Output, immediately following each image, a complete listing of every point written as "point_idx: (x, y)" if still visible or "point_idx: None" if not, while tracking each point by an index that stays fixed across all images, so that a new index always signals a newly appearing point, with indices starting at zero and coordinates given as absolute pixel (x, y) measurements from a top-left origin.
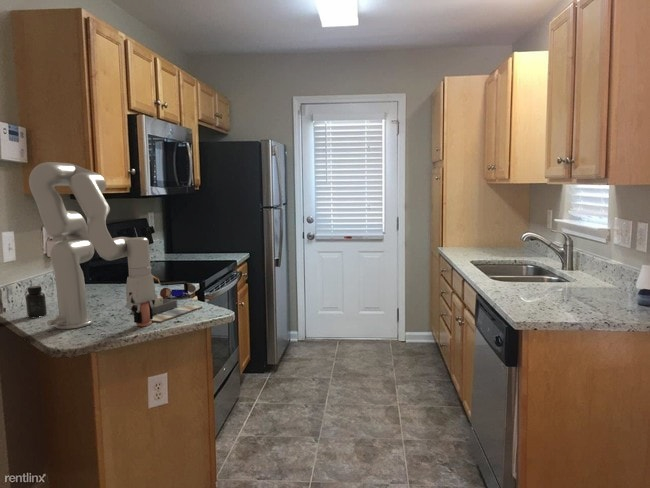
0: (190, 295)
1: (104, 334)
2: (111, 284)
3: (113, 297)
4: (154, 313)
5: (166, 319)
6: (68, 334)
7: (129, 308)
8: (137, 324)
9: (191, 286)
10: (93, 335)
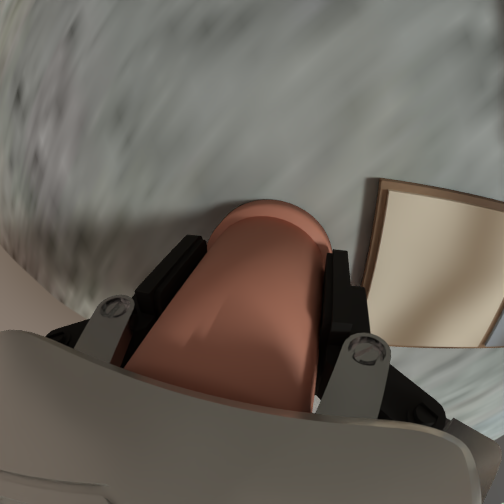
0: None
1: (39, 171)
2: None
3: None
4: None
5: (409, 345)
6: (5, 18)
7: (52, 332)
8: (208, 248)
9: None
10: (17, 134)
